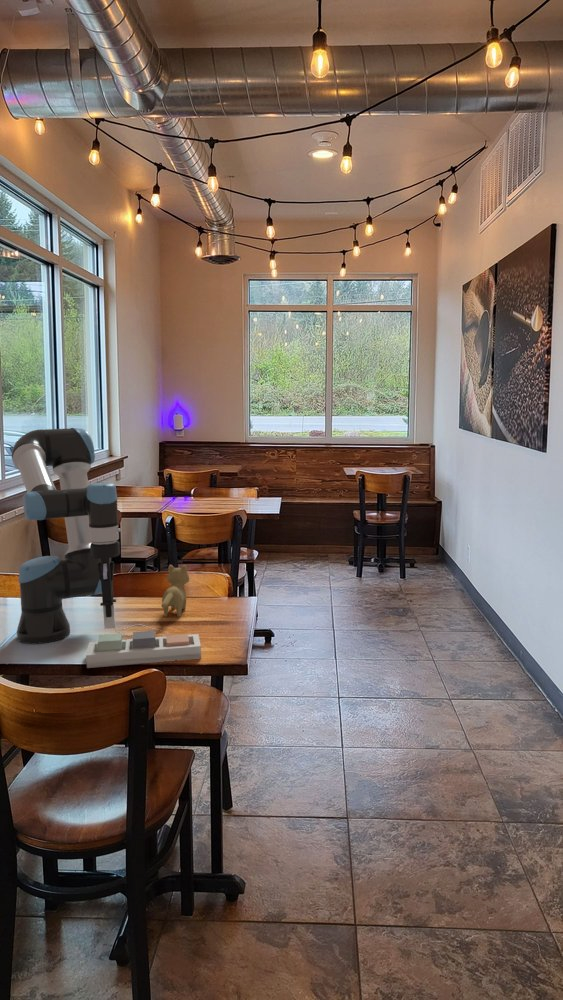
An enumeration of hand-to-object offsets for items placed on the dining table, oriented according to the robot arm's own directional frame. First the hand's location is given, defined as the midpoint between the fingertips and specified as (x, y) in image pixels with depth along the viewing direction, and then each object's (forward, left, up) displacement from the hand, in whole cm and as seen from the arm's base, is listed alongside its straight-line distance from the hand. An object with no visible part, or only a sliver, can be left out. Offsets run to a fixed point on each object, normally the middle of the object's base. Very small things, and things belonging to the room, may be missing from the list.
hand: (109, 627), depth 188 cm
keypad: (+9, 0, -9) cm, 13 cm away
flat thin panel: (+8, +21, -10) cm, 24 cm away
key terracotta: (+18, 0, -7) cm, 19 cm away
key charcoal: (+9, 0, -5) cm, 10 cm away
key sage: (0, 0, -5) cm, 5 cm away
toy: (+18, +36, -9) cm, 41 cm away
